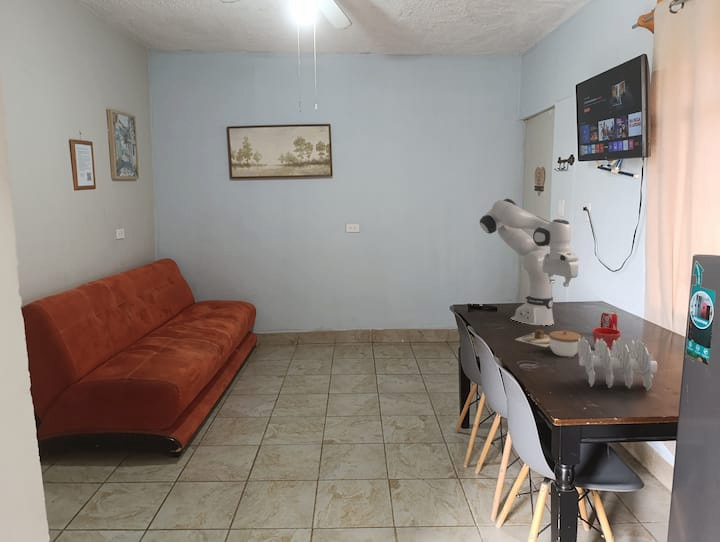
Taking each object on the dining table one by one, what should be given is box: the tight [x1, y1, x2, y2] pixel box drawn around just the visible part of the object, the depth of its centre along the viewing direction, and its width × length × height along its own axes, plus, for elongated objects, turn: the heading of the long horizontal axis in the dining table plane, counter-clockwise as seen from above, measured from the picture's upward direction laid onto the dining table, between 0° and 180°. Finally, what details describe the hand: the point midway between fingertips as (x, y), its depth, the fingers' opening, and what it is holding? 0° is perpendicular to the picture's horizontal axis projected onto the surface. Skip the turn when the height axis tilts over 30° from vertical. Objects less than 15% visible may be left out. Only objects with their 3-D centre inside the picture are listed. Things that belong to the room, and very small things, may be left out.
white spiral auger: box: [577, 336, 658, 391], centre depth 183 cm, size 18×18×25 cm
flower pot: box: [592, 327, 622, 350], centre depth 220 cm, size 11×11×10 cm
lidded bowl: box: [548, 329, 582, 359], centre depth 217 cm, size 13×13×11 cm
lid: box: [523, 328, 550, 344], centre depth 238 cm, size 14×14×4 cm
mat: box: [514, 332, 550, 348], centre depth 238 cm, size 16×16×1 cm
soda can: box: [600, 310, 618, 330], centre depth 242 cm, size 7×7×12 cm
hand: (558, 284), depth 237 cm, fingers open, 8 cm apart
